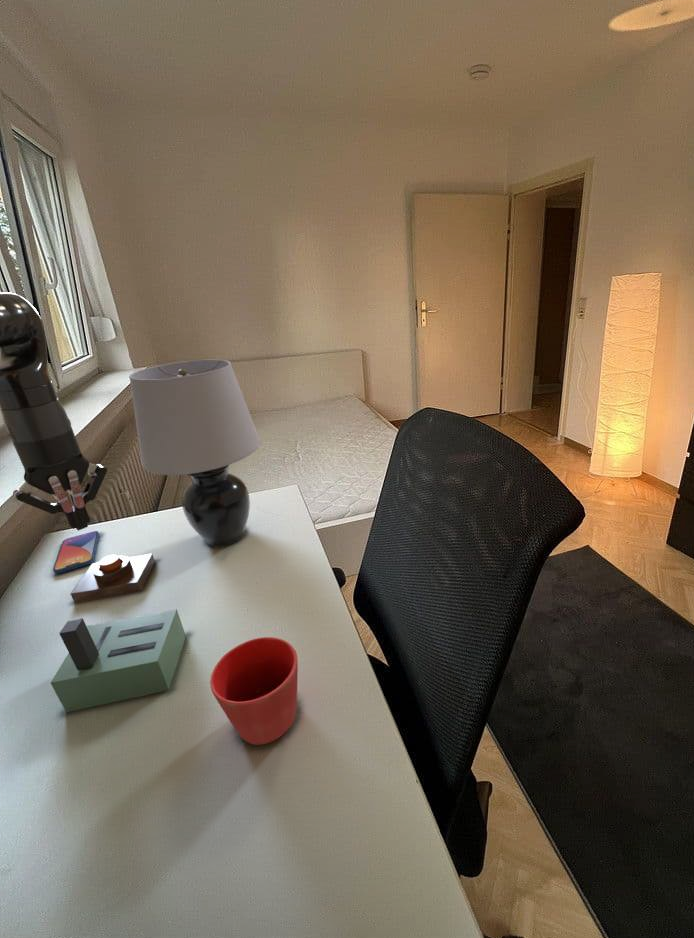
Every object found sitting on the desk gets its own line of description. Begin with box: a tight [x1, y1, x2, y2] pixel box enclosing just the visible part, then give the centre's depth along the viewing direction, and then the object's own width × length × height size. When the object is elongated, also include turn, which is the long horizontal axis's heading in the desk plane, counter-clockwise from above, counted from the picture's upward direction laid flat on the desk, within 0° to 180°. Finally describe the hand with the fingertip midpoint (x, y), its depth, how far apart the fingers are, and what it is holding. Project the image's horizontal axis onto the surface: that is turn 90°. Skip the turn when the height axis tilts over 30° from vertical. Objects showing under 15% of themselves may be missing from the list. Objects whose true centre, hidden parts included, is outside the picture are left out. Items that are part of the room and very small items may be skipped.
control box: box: [70, 553, 156, 603], centre depth 91 cm, size 12×10×4 cm
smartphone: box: [52, 530, 100, 574], centre depth 102 cm, size 7×15×1 cm, turn 29°
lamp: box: [128, 358, 261, 547], centre depth 97 cm, size 24×24×40 cm
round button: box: [98, 554, 122, 572], centre depth 90 cm, size 4×4×2 cm
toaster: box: [50, 609, 187, 713], centre depth 69 cm, size 14×11×6 cm
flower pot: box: [209, 636, 299, 746], centre depth 59 cm, size 11×11×10 cm
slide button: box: [58, 618, 99, 670], centre depth 63 cm, size 2×2×7 cm
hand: (81, 527), depth 75 cm, fingers closed
